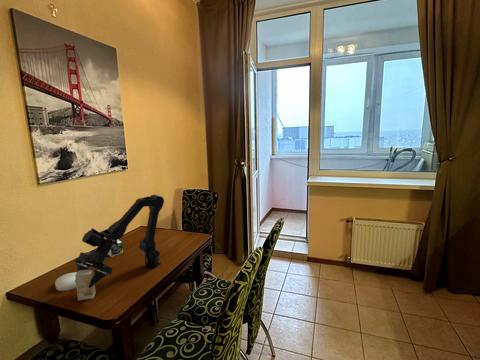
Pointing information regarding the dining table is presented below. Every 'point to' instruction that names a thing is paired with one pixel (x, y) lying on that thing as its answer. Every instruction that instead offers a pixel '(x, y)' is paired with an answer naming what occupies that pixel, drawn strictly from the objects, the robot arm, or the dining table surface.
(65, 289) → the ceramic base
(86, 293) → the skincare box
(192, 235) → the dining table surface
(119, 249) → the medicine bottle
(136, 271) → the dining table surface
